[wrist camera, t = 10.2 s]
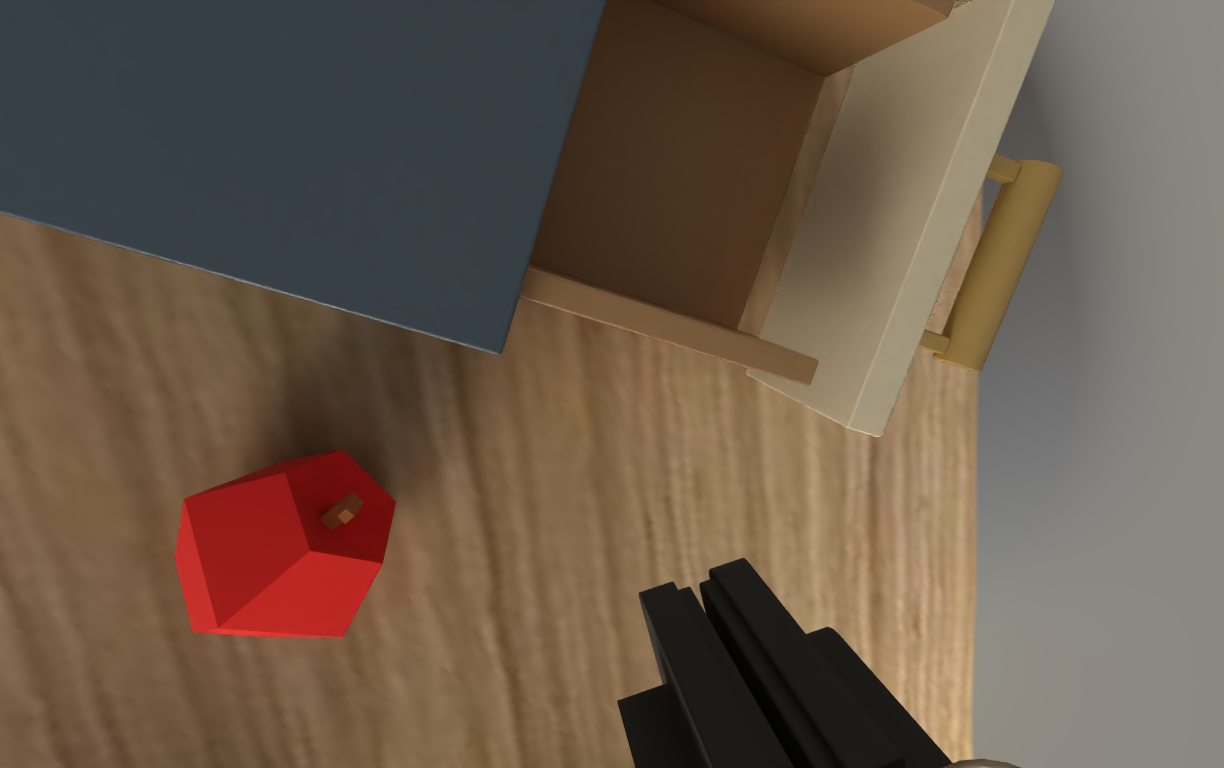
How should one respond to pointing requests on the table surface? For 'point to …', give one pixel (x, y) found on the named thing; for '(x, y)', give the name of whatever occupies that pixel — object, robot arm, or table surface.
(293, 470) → the apple
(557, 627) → the table surface
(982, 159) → the drawer
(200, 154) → the cabinet
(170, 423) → the table surface
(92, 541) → the table surface
